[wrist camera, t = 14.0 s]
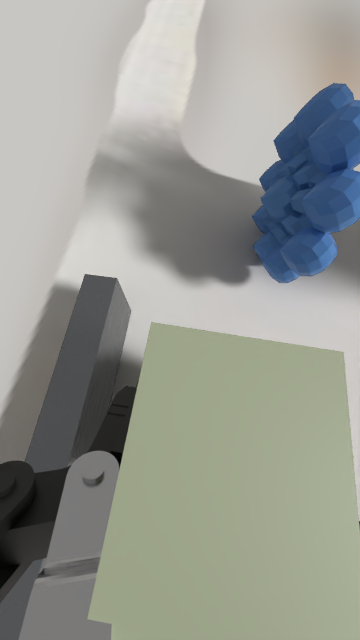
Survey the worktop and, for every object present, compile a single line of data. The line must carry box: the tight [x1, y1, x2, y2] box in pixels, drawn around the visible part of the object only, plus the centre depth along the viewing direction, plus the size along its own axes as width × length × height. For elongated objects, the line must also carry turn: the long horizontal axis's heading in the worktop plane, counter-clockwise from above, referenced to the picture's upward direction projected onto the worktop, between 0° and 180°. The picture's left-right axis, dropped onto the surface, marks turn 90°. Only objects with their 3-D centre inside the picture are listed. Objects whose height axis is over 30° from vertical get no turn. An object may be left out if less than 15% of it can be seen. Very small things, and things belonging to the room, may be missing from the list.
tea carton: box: [87, 322, 360, 640], centre depth 9 cm, size 4×6×11 cm
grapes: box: [252, 83, 360, 283], centre depth 16 cm, size 12×7×12 cm, turn 177°
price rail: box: [0, 274, 131, 640], centre depth 14 cm, size 20×2×5 cm, turn 172°
